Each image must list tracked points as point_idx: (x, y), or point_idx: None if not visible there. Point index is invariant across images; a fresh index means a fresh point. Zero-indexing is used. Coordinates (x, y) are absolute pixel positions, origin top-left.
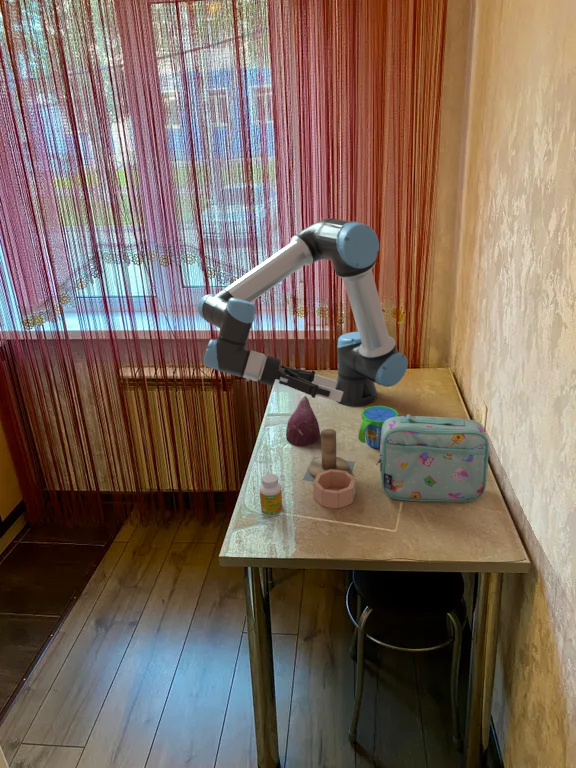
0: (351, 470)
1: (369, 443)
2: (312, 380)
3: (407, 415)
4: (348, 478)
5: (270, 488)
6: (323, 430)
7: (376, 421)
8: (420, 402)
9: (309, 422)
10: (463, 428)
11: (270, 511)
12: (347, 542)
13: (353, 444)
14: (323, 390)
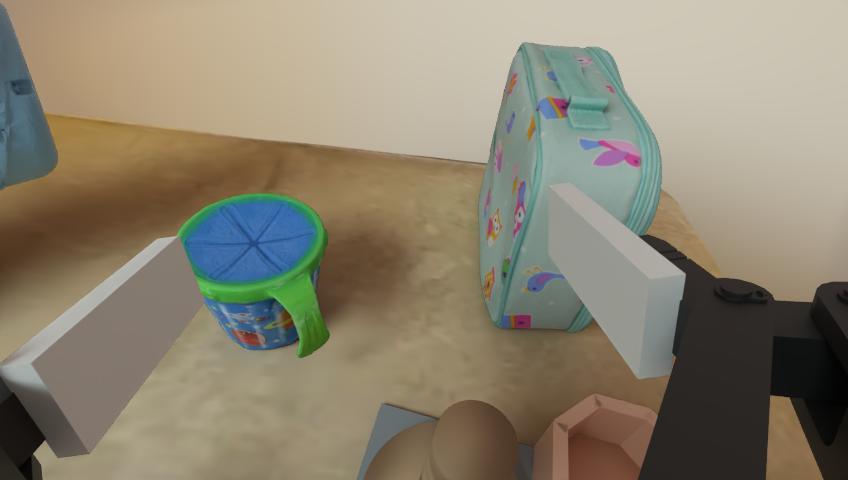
0: (438, 420)
1: (288, 338)
2: (34, 440)
3: (581, 99)
4: (584, 419)
5: None
6: (454, 470)
7: (316, 253)
8: (63, 182)
9: None
10: (586, 56)
11: None
12: (796, 467)
13: (249, 398)
14: (697, 268)
